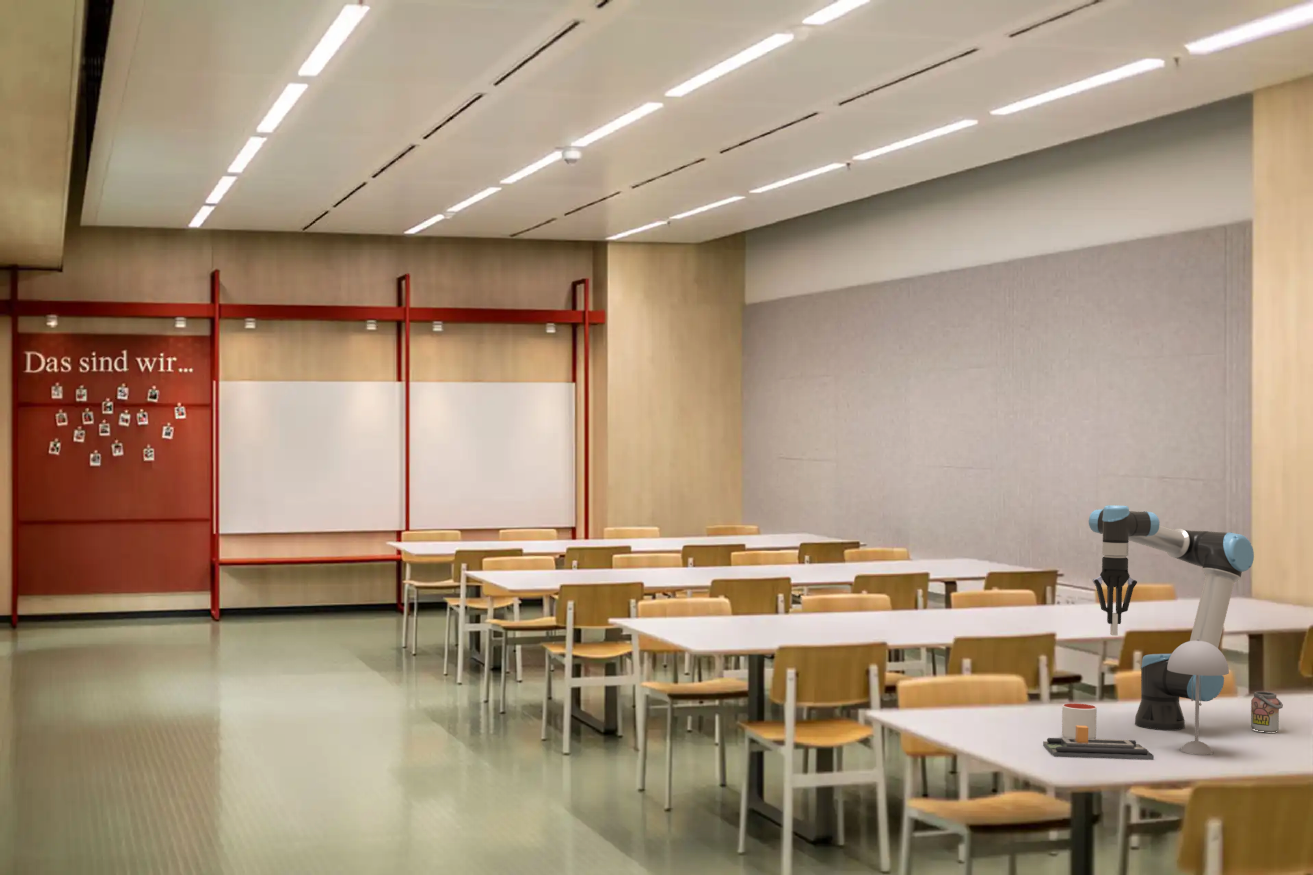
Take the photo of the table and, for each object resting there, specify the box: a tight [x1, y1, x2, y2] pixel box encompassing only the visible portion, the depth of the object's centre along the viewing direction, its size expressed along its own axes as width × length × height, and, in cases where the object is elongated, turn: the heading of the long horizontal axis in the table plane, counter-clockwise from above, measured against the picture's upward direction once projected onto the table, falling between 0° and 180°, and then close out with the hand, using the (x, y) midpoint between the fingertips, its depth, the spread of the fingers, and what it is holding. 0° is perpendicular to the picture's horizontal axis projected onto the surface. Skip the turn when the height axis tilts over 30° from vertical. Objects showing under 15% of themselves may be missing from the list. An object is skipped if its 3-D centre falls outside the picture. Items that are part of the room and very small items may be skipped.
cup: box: [1061, 702, 1098, 739], centre depth 455 cm, size 10×10×10 cm
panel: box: [1042, 737, 1155, 761], centre depth 435 cm, size 28×16×3 cm, turn 86°
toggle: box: [1074, 725, 1089, 743], centre depth 435 cm, size 4×3×6 cm
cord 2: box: [1056, 747, 1149, 754], centre depth 428 cm, size 26×1×1 cm, turn 86°
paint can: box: [1250, 691, 1284, 733], centre depth 473 cm, size 9×8×12 cm
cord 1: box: [1046, 737, 1137, 745], centre depth 441 cm, size 26×1×1 cm, turn 86°
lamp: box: [1167, 639, 1230, 756], centre depth 439 cm, size 17×17×33 cm
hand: (1113, 634), depth 450 cm, fingers closed
